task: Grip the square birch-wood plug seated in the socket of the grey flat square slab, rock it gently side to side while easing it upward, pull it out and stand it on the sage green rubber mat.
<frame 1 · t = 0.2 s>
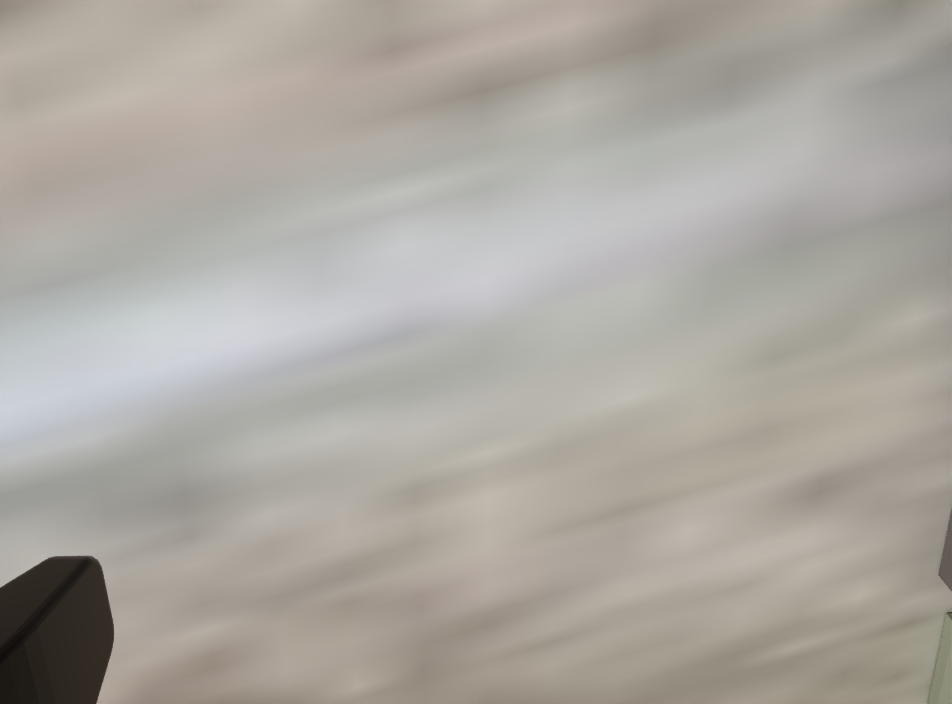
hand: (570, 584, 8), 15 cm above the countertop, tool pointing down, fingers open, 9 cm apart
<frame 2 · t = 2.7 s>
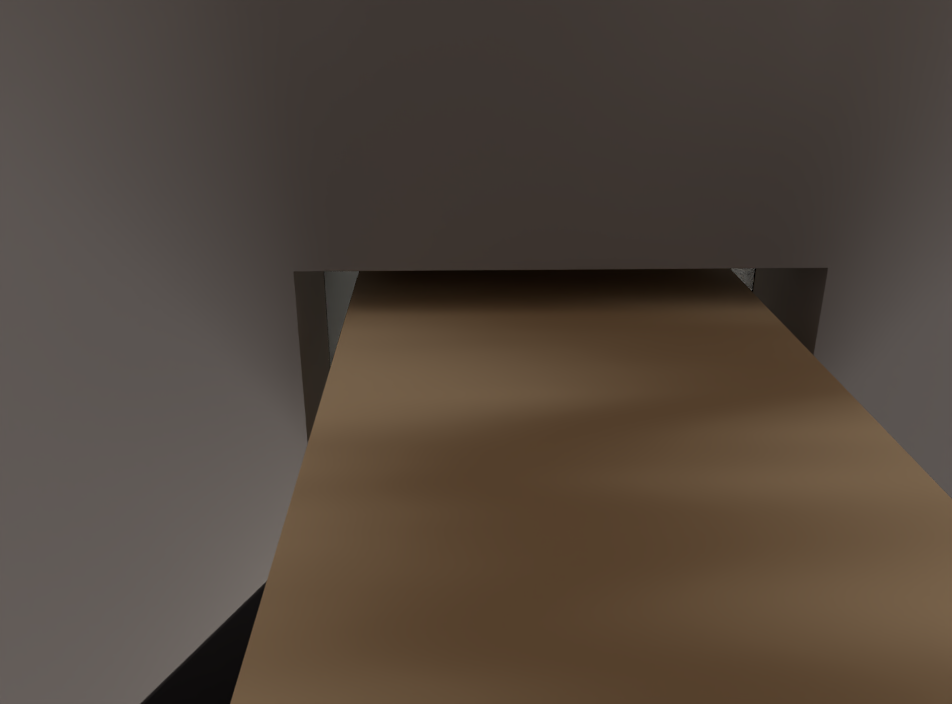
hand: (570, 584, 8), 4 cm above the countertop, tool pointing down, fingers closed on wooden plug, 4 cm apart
grey flat square slab: (536, 416, 12), on the countertop
wooden plug: (584, 653, 8), in the grey flat square slab, touching gripper
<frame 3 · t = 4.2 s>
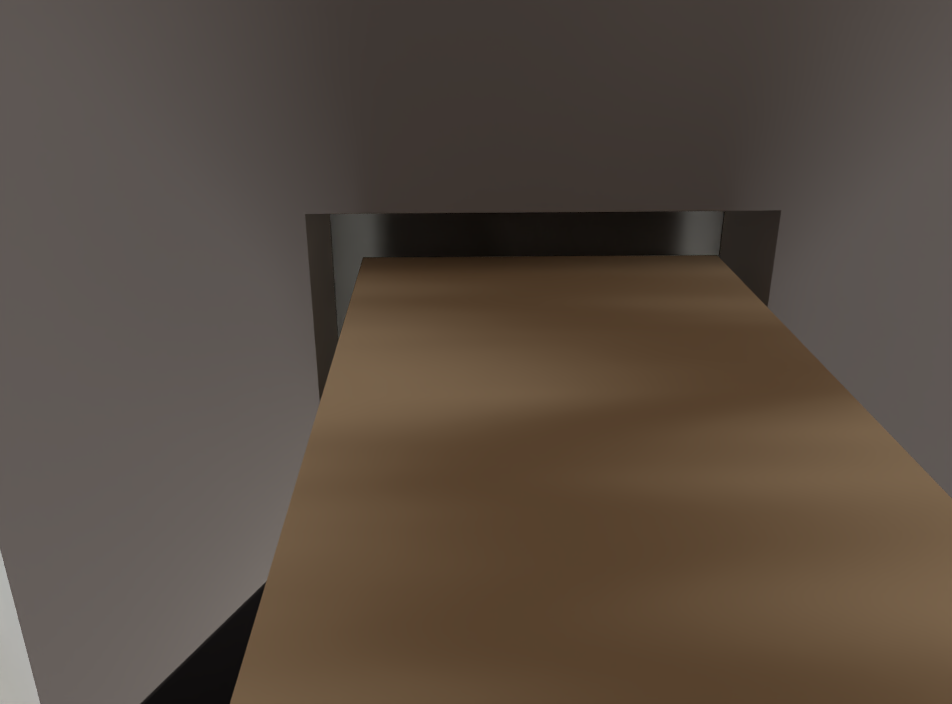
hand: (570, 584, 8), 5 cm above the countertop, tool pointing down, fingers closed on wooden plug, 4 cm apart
grey flat square slab: (524, 359, 13), on the countertop
wooden plug: (584, 653, 8), point 6 cm above the countertop, touching gripper
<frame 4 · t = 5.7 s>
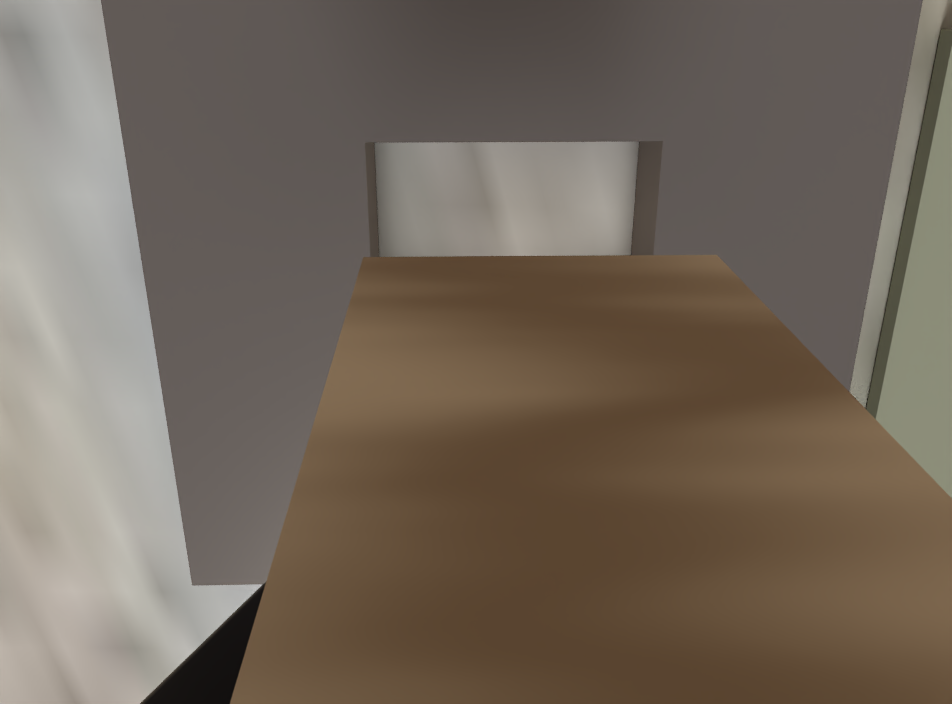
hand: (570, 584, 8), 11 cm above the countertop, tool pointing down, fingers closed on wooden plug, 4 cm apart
grey flat square slab: (505, 253, 19), on the countertop
wooden plug: (583, 652, 8), point 12 cm above the countertop, touching gripper
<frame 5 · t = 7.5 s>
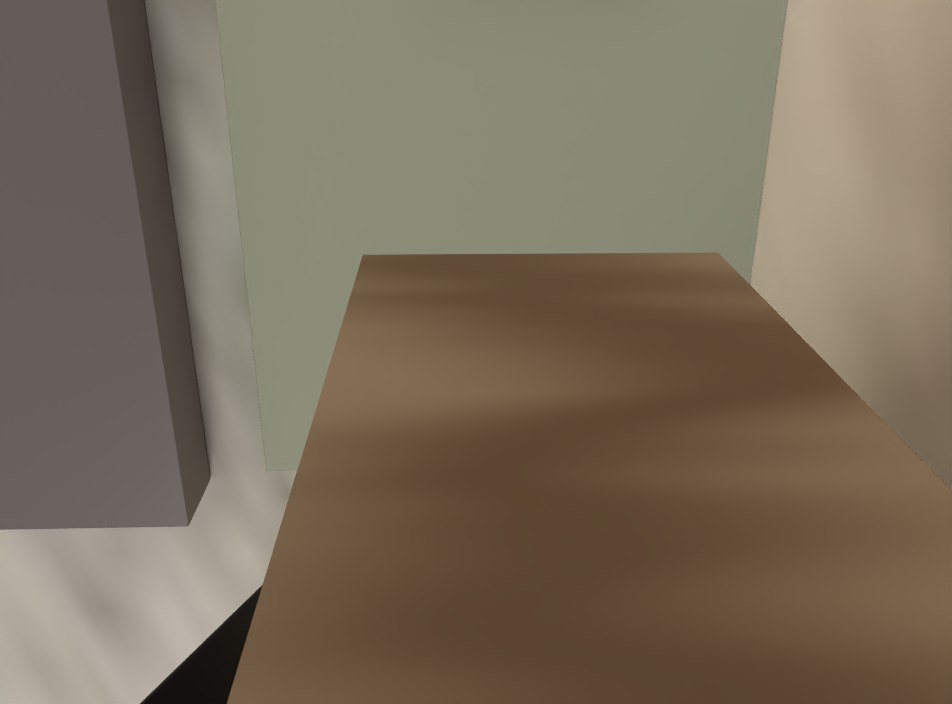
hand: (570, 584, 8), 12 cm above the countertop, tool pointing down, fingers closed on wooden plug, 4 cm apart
wooden plug: (584, 651, 8), point 13 cm above the countertop, touching gripper
rubber mat: (499, 238, 19), on the countertop
when the fingers open (5 cm above the countertop, at t = 8.9 s): wooden plug drops 1 cm, resting on rubber mat.
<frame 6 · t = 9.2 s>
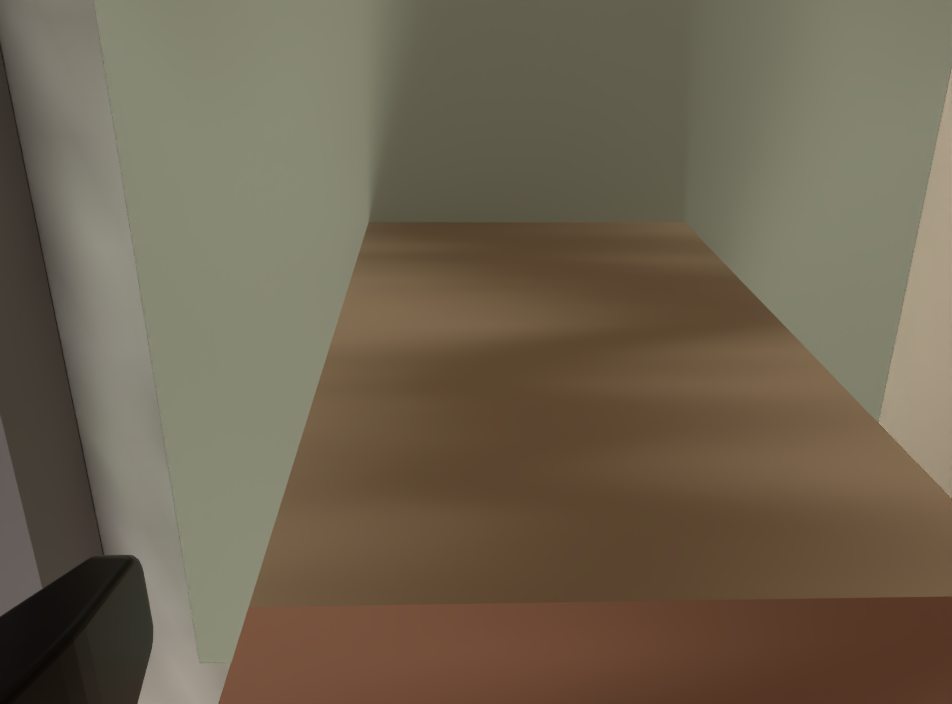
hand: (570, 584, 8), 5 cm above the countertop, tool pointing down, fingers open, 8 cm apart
wooden plug: (558, 548, 9), on the rubber mat
rubber mat: (523, 354, 13), on the countertop
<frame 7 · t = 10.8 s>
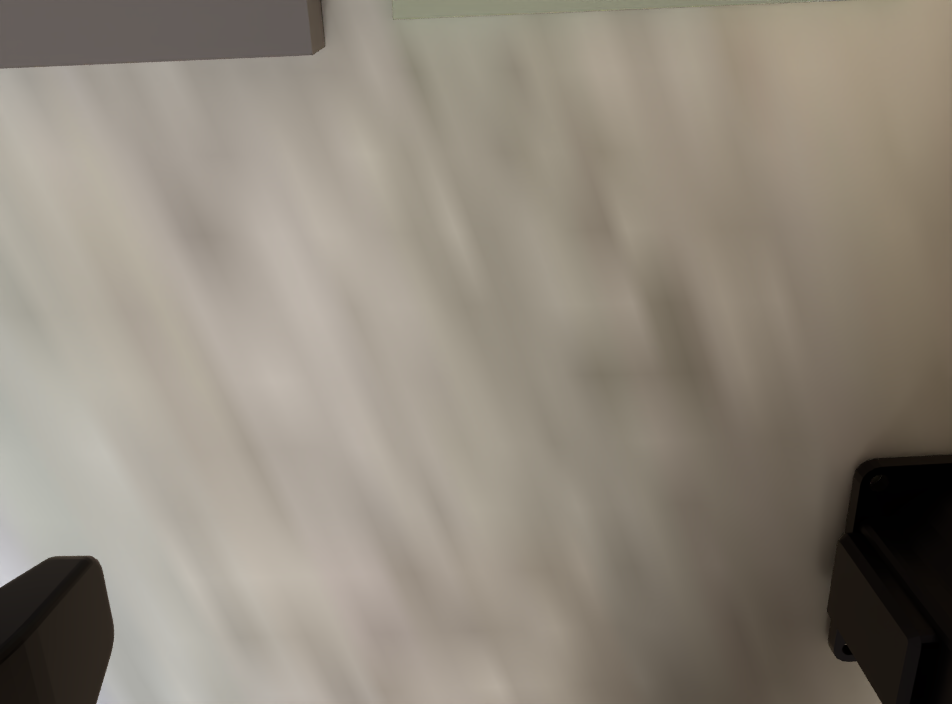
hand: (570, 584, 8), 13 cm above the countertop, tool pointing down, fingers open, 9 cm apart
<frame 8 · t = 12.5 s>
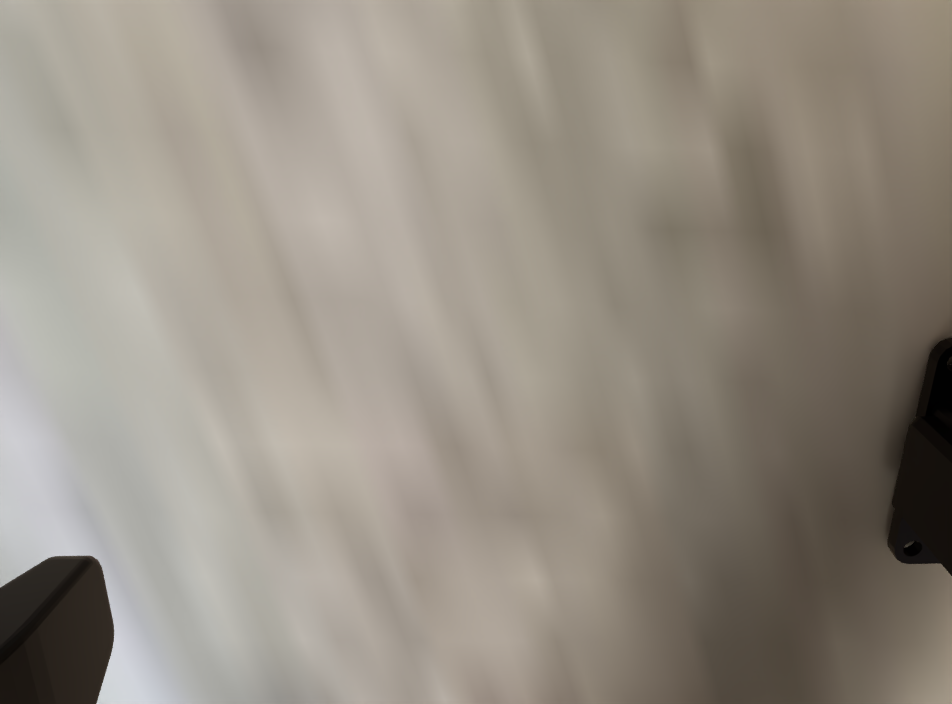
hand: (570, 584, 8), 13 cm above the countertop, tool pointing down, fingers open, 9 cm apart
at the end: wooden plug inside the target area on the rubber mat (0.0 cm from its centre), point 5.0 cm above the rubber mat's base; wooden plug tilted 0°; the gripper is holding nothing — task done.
